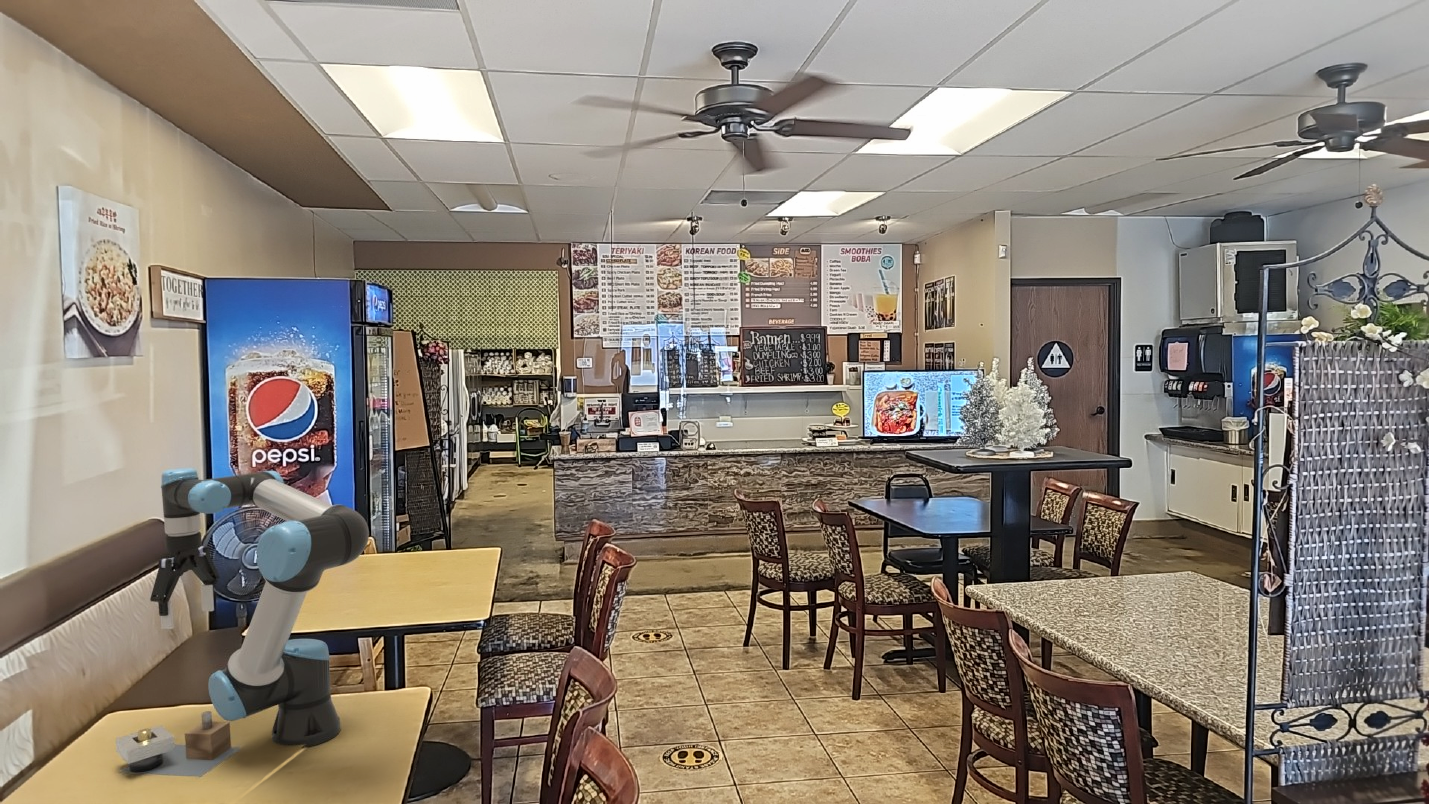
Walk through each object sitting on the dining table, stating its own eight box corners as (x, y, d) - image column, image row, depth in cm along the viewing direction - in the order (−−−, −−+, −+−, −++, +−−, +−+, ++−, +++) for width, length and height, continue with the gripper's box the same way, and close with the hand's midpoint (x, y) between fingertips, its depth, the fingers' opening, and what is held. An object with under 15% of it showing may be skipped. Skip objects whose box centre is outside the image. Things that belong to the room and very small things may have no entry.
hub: (170, 759, 202) (167, 725, 201) (148, 773, 195) (146, 738, 195) (144, 758, 203) (142, 724, 202) (122, 771, 196) (119, 736, 196)
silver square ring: (174, 749, 199) (173, 736, 199) (128, 764, 192) (127, 750, 192) (162, 737, 205) (161, 725, 205) (116, 751, 199) (115, 738, 198)
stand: (231, 747, 207) (228, 707, 207) (212, 760, 201) (209, 719, 200) (206, 746, 208) (203, 706, 208) (186, 759, 202) (183, 718, 201)
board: (243, 751, 207) (242, 747, 207) (200, 781, 193) (200, 776, 193) (165, 747, 210) (165, 743, 210) (118, 776, 196) (118, 772, 196)
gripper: (205, 522, 227) (210, 603, 228) (128, 544, 202) (134, 635, 203) (232, 522, 226) (236, 604, 227) (158, 544, 201) (164, 636, 202)
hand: (188, 619), depth 215 cm, fingers open, 13 cm apart
